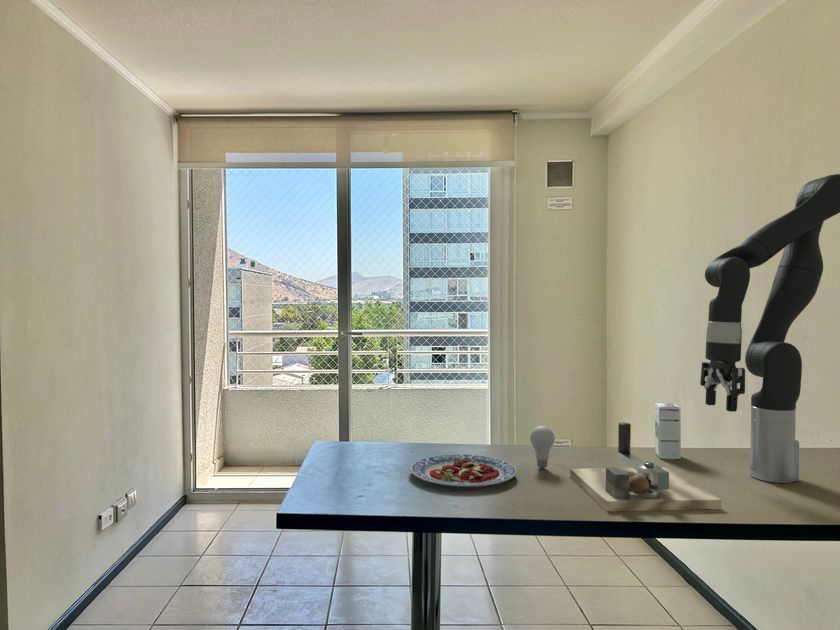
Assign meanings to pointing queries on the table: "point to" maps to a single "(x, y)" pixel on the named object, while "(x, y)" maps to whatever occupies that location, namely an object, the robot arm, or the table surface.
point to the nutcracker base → (617, 496)
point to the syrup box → (667, 431)
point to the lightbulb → (542, 444)
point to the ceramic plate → (463, 470)
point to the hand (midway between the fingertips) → (720, 408)
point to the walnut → (639, 484)
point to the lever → (645, 469)
